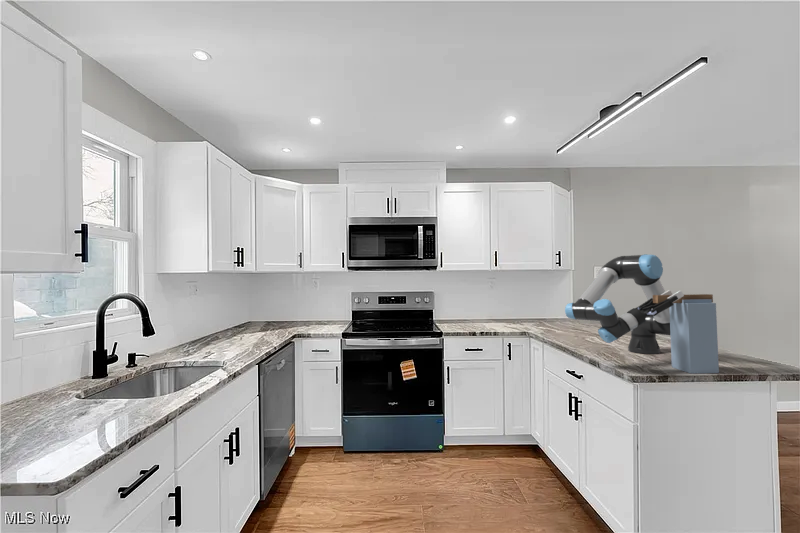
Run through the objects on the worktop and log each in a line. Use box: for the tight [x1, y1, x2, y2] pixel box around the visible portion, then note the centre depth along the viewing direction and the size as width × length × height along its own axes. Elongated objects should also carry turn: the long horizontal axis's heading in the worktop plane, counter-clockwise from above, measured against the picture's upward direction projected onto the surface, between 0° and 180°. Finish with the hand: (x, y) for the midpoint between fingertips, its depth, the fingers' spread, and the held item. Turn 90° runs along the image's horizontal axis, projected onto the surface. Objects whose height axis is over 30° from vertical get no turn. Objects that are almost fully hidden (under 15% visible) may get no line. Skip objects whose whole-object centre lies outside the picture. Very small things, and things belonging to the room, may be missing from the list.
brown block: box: [653, 293, 714, 303], centre depth 174 cm, size 4×24×4 cm, turn 89°
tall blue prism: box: [669, 299, 720, 374], centre depth 174 cm, size 12×12×32 cm
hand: (676, 292), depth 174 cm, fingers open, 6 cm apart
